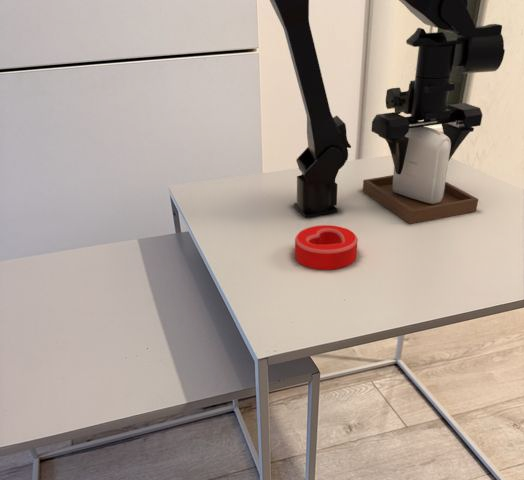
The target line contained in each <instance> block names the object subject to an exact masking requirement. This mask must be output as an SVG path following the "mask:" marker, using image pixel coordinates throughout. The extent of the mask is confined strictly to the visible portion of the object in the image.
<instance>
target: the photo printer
mask: <svg viewBox="0 0 524 480" xmlns="http://www.w3.org/2000/svg"><path fill="white" fill-rule="evenodd" d="M405 137H407V138H409V141H408V146H407V151H406V155H405V160H404V165H403V169H402V172H401V174H397V173H396V171H395V167H394V166H393V174H392V175H393V186H392V190H393V192H395V193H398V194H400V195H403V196H406V197H409V198H412V199H416V200H419V201H422V202H425V203H430V204H436V203H439V202H441V199H442V198H443V195H444V188H445V182H447V181H446V180H447V174H448V168H449V167H448V166H449V162H450V160H449V155H450V148H451V142H450V139H449V138H448V137H447V136H446V135H445V134H444V132H441V131H439V130H437V129H435V128H432V127H430V126H423V127H416V128H409V132H408V133H407V134H406V135H405Z"/></svg>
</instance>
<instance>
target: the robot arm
mask: <svg viewBox="0 0 524 480" xmlns="http://www.w3.org/2000/svg"><path fill="white" fill-rule="evenodd" d="M398 1H399V2H400V3H401V4H402V5H403V6H404V7H405V8H406V9H407V10H408V11H409V12H410V13H411V14H412V15H413V16H415V17H416V18H417V19H418V20H419V21H420V22H421V23H423V24H424V25H426V26H429V27H432V28H437V29H439V30H443V31H444V32H447V33H451V34H454V35H456V37H447V35H446V34H445V33H444V32H442V31H436V32H426V30H425V29H424V28H422V27H418V28H416V30H415V31H414V33H413V34H411V35H410V37H408V38H407V39H406V41H405V43H406V45H408V46H411V47H414V48H418V50H417V58H416V67H415V77H414V80H410V82H409V83H408V90H406V91H402V89H401V88H400V87H391V88H388V89H386V93H385V94H386V95H385V107H386V109H387V110H391V109H392V110H393V109H394V111H393V112H385V113H379V114H377V113H376V114H375V116H374V118H373V119H372V122H371V132H372V133H374V134H375V135H377V136H378V137H380V138H382V139H384V140H385V141H386V143H387V146H388V148H389V152H390V154H391V158H392V163H393V168H394V167H395V171H396V173H397V174H401V172H402V169H403V165H404V160H405V155H406V151H407V146H408V141H409V138H407V137H405V135H406V134H407V133H408V132H409V128H416V127H423V126H424V127H430V126H437V125H441V128H442V133H443V134H445V135H446V136H447V137H448V138H449V139H450V142H451V148H450V155H449V161H450V160H451V159H452V157H453V156H454V154H455V152H456V151H458V148H459V147H460V145H461V144H462V143H463V141H464V140H465V139H466V138H467V137H468V136H469V134H470V133H472V132H474V130H475V127H480V126H481V125H482V120H483V112H482V110H481V107H479V106H475V105H472V104H469V103H467V102H460V103H453V104H448V99H449V93H450V92H451V91H454V90H455V87H456V86H455V85H456V83H454V82H451V79H452V72H453V67H454V68H456V71H457V72H458V73H459V74H461V75H462V74H475V73H489V72H490V73H491V72H497V71H498V70H499V69H500V67H501V65H502V63H503V61H504V56H505V54H506V53H505V51H506V50H505V42H504V37H503V34H502V31H503V25H502V24H498V23H490V24H486V25H480V26H479V25H478V26H476V25H475V23H474V20H473V18H472V17H471V14H470V12H469V10H468V0H398ZM269 2H270V4H271V6H272V8H273V10H274V12H275V14H276V17H277V18H278V20H279V23H280V24H281V27H282V29H283V32H284V35H285V39H286V43H287V47H288V50H289V54H290V59H291V61H292V62H291V63H292V65H293V71H294V74H295V77H296V81H297V84H298V89H299V92H300V96H301V100H302V104H303V107H304V111H305V115H306V139H307V147H306V148H305V149H304V150H303V152H302V153H301V154H300V155H299V156H298V157H296V160H295V161H296V164H297V167H298V170H299V171H300V172H301V174H300V175H297V176H296V202H295V203H294V202H293V207H294V208H295V209H296V210H297V211H298V212H299V213H300V214H301V215H303V216H304V218H312V217H318V216H319V217H320V216H323V215H329V214H334V213H338V212H339V208H338V207H336V206H337V205H338V183H337V182H336V178H337V177H338V173H339V170H341V169H342V168H343V167H344V166H345V164H346V163H347V161H348V159H349V149H351V148H352V146H351V144H350V143H349V140H348V136H347V126H346V122H344V120H342V119H341V118H340V117H339V116H338V115H335V116H333V115H332V112H331V108H330V103H329V100H328V96H327V92H326V88H325V82H324V79H323V75H322V71H321V67H320V62H319V58H318V54H317V49H316V46H315V41H314V37H313V33H312V29H311V25H310V15H309V14H310V0H269ZM401 113H403V114H405V115H408V116H404V115H402V114H401ZM409 115H410V116H409Z"/></svg>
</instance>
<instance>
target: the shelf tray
mask: <svg viewBox="0 0 524 480" xmlns="http://www.w3.org/2000/svg"><path fill="white" fill-rule="evenodd" d="M392 186H393V174H392V175H385V176H379V177H372V178H367V179H363V180H362V192H363V193H364V194H366V195H367V196H369V197H370V198H372V199H373V200H375V201H376V202H377V203H379V204H380V205H382V206H383V207H384V208H386V209H387V210H389V211H390V212H392V213H393V214H395V215H396V216H398V217H399V218H400V219H401V220H403V221H405V222H406V223H407V224H409V225H412V224H416V223H417V224H418V223H422V222H427V221H432V220H437V219H442V218H443V219H444V218H449V217H453V216H459V215H464V214H470V213H474V212H477V209H478V204H479V198H478V197H475V196H473V195H471V194H470V193H468V192H466V191H464V190H462V189H460V188H459V187H457V186H455V185H453V184H452V183H449V182H447V181H445V188H444V195H443V198H442V199H441V202H439V203H436V204H430V203H425V202H422V201H419V200H416V199H412V198H409V197H406V196H403V195H400V194H398V193H395V192H393V190H392Z"/></svg>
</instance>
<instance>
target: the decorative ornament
mask: <svg viewBox="0 0 524 480" xmlns="http://www.w3.org/2000/svg"><path fill="white" fill-rule="evenodd" d="M358 242H359V241H358V237H357V235H356V233H354V231H352V230H350V229H349V228H346V227H342V226H339V225H329V224H326V225H325V224H323V225H321V224H320V225H314V226H310V227H307V228H304V229H302V230H301V231H299V232H298V233H297V235H296V236H295V238H294V258H295V260H296V261H297V262H298V263H299V264H300V265H302V266H304V267H306V268H308V269H314V270H321V271H333V270H339V269H343V268H346V267H348V266H351V265H352V264H354V262H355V261H356V260H357V254H358Z"/></svg>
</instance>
